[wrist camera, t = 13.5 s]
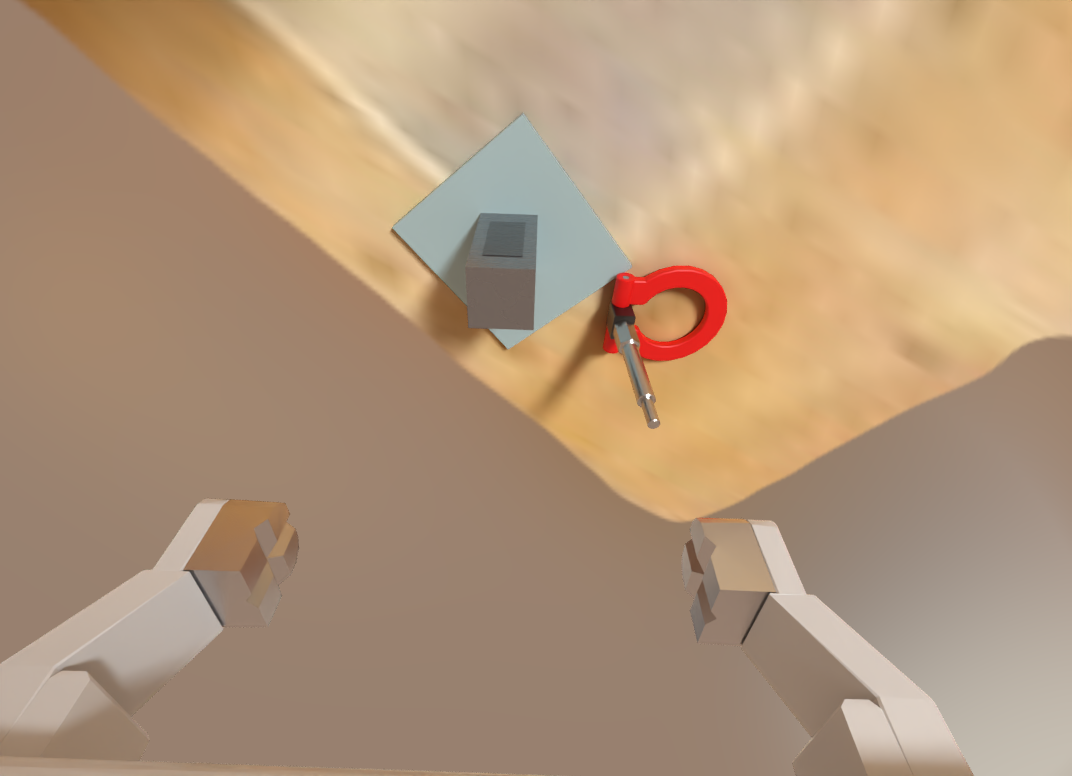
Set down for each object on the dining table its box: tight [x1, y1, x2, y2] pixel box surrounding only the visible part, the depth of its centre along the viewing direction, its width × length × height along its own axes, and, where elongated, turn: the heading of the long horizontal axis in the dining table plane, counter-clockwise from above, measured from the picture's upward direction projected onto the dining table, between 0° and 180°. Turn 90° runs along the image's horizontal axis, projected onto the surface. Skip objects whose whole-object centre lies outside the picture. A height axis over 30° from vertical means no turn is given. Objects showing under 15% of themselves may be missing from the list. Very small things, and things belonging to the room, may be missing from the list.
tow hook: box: [603, 266, 727, 429], centre depth 38 cm, size 8×13×9 cm
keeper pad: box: [392, 113, 632, 349], centre depth 40 cm, size 13×12×1 cm
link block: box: [465, 213, 538, 330], centre depth 35 cm, size 4×4×9 cm
